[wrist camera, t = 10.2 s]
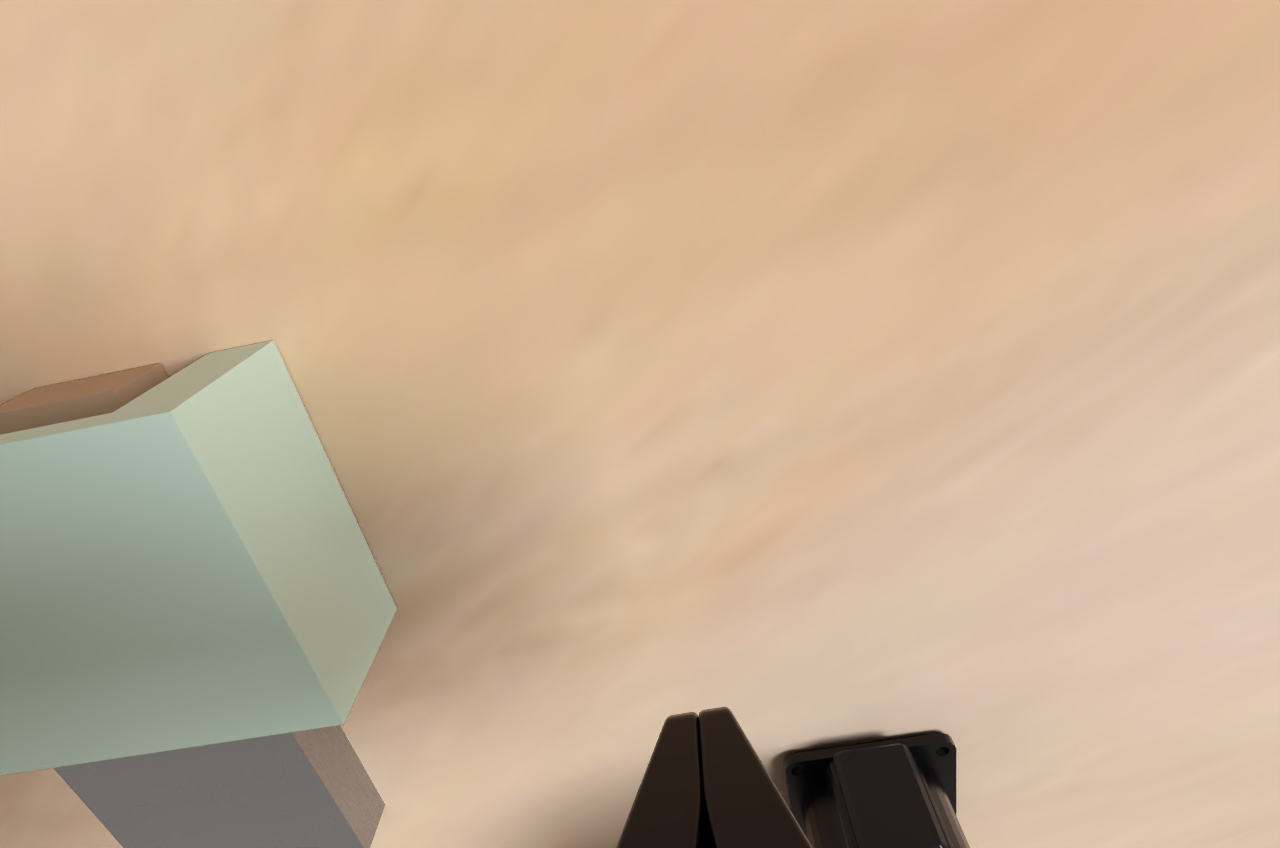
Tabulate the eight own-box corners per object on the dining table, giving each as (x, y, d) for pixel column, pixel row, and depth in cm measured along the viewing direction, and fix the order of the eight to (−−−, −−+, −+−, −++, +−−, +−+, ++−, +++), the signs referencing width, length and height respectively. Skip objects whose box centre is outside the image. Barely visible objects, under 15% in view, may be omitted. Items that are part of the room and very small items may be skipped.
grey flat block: (386, 800, 29) (367, 853, 27) (187, 829, 29) (154, 883, 27) (167, 421, 21) (118, 456, 19) (-96, 474, 22) (-170, 514, 20)
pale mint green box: (397, 608, 24) (344, 724, 20) (-42, 680, 25) (-182, 802, 21) (273, 339, 20) (170, 411, 15) (-247, 445, 21) (-476, 537, 17)
